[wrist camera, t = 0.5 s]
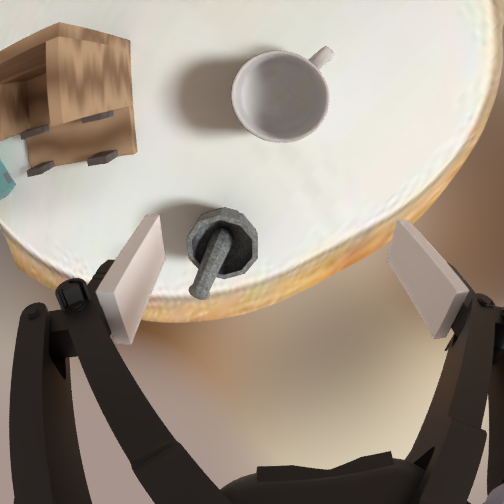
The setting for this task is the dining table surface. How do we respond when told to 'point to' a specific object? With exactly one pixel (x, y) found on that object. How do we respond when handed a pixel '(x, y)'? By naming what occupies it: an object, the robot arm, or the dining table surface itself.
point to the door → (5, 182)
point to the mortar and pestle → (220, 248)
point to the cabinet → (68, 96)
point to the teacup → (281, 94)
